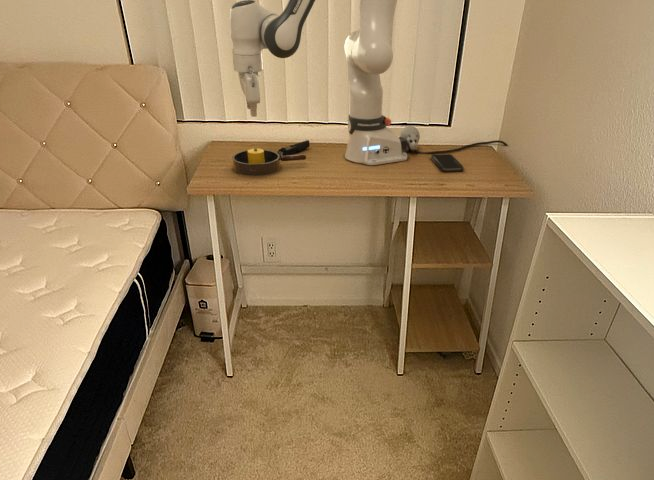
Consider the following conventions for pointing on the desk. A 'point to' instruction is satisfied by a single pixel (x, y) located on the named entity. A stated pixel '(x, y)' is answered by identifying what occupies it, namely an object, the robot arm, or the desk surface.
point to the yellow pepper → (256, 156)
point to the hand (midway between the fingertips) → (251, 112)
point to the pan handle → (293, 157)
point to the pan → (261, 169)
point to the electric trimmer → (294, 148)
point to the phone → (447, 163)
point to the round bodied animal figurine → (410, 137)
